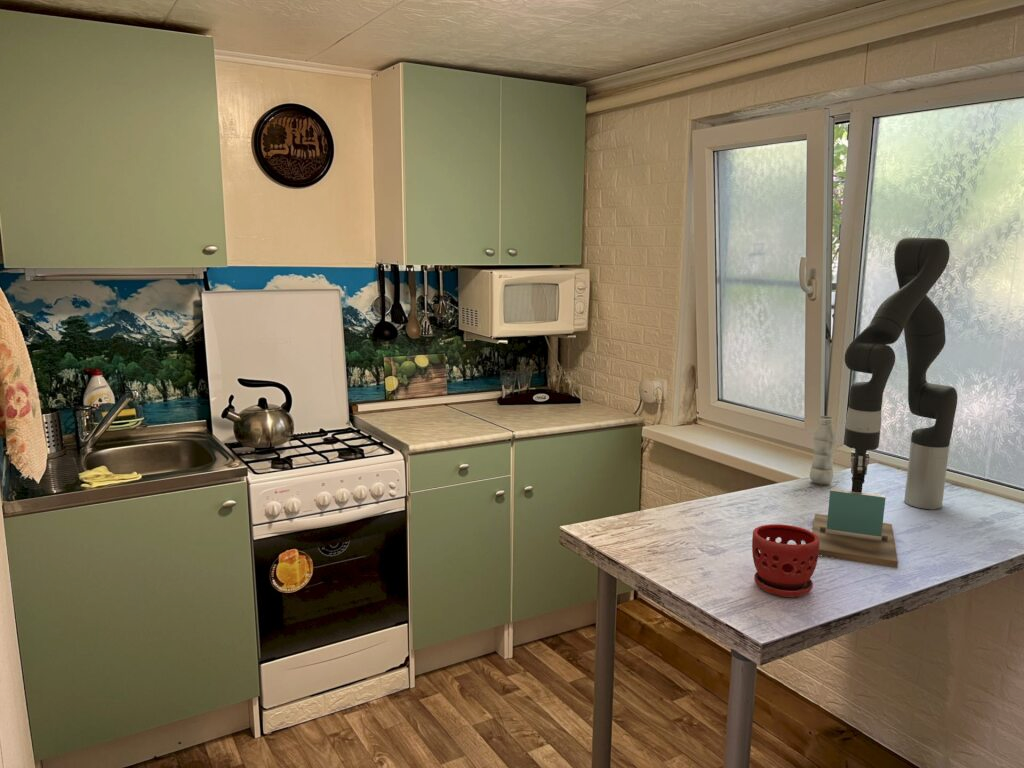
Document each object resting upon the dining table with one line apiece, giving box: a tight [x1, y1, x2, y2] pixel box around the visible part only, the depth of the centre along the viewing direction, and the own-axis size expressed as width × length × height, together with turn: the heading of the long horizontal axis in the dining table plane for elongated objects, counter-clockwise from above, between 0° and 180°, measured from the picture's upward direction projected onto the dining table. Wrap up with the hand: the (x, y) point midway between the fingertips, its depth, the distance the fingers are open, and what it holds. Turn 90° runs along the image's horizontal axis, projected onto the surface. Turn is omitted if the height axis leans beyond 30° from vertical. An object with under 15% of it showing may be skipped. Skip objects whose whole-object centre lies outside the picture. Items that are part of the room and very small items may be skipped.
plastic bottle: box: [809, 415, 838, 486], centre depth 228 cm, size 6×7×20 cm
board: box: [812, 513, 899, 569], centre depth 187 cm, size 24×18×3 cm
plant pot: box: [751, 523, 819, 598], centre depth 162 cm, size 13×13×12 cm
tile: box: [827, 488, 886, 537], centre depth 185 cm, size 10×12×1 cm
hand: (856, 496), depth 187 cm, fingers closed
